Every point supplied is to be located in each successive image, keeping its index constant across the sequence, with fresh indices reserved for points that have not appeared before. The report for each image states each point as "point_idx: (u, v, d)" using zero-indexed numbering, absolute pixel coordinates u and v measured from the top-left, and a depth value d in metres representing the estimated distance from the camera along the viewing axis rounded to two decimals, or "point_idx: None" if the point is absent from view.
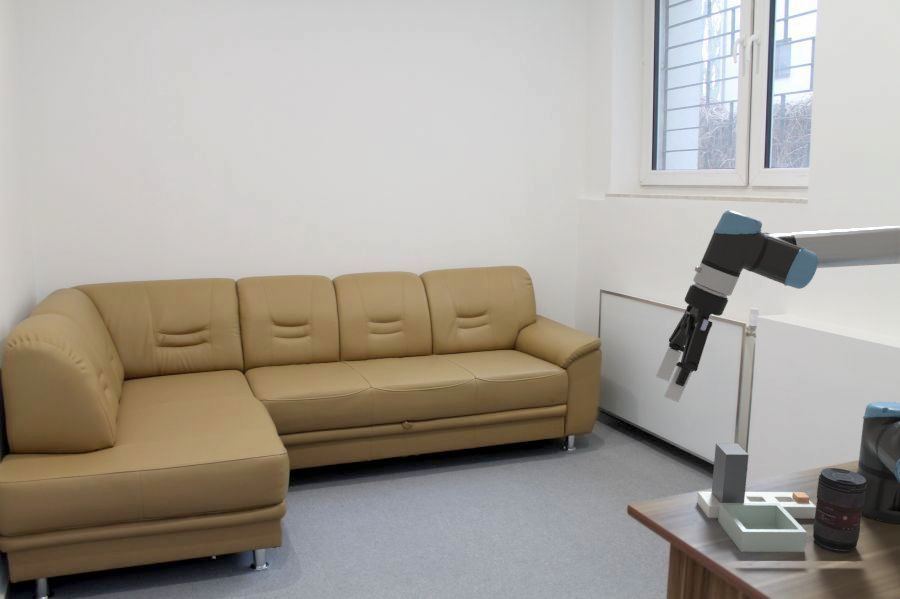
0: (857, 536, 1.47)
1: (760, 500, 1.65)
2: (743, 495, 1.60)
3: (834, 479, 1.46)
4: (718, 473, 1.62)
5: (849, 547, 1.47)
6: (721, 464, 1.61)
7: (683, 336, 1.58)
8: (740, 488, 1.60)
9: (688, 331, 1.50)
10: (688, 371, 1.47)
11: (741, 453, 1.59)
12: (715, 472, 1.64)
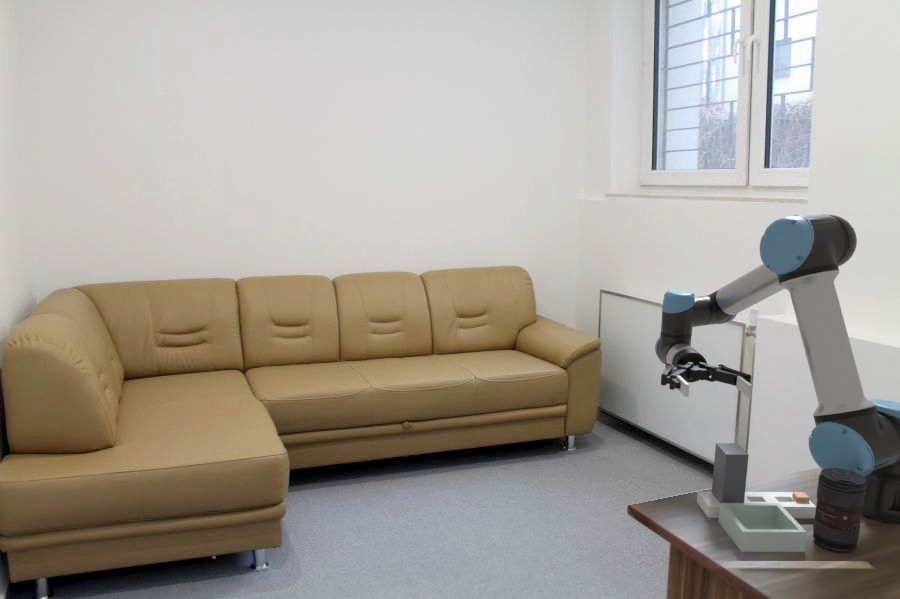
0: (857, 536, 1.47)
1: (760, 500, 1.65)
2: (743, 495, 1.60)
3: (834, 479, 1.46)
4: (718, 473, 1.62)
5: (849, 547, 1.47)
6: (721, 464, 1.61)
7: (721, 377, 1.79)
8: (740, 488, 1.60)
9: None
10: (670, 379, 1.75)
11: (741, 453, 1.59)
12: (715, 472, 1.64)
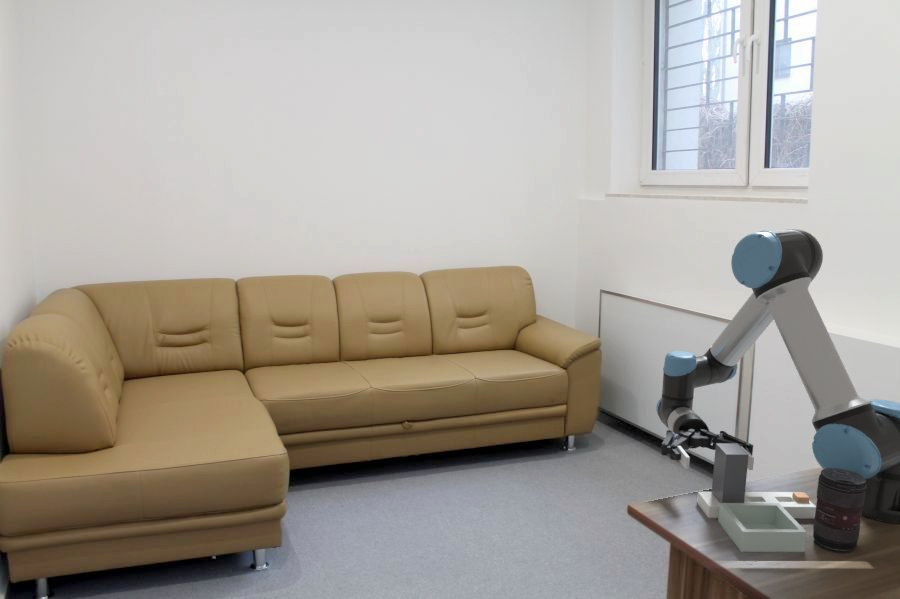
0: (857, 536, 1.47)
1: (760, 500, 1.65)
2: (743, 495, 1.60)
3: (834, 479, 1.46)
4: (718, 473, 1.62)
5: (849, 547, 1.47)
6: (721, 464, 1.61)
7: None
8: (740, 488, 1.60)
9: None
10: (671, 449, 1.73)
11: (741, 453, 1.59)
12: (715, 472, 1.64)
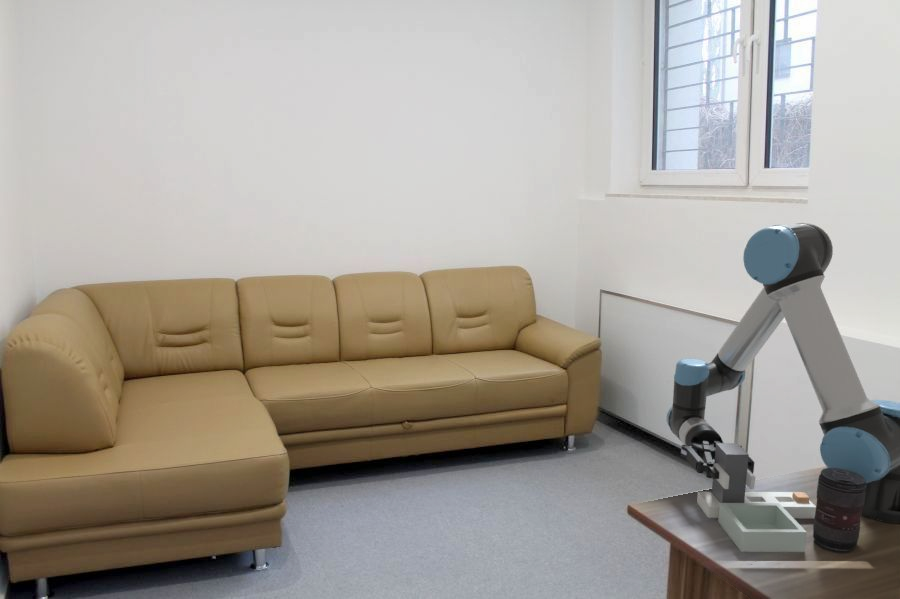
0: (857, 536, 1.47)
1: (760, 500, 1.65)
2: (743, 495, 1.60)
3: (834, 479, 1.46)
4: None
5: (849, 546, 1.47)
6: (721, 463, 1.61)
7: None
8: (740, 488, 1.60)
9: None
10: (707, 467, 1.63)
11: (741, 453, 1.59)
12: None
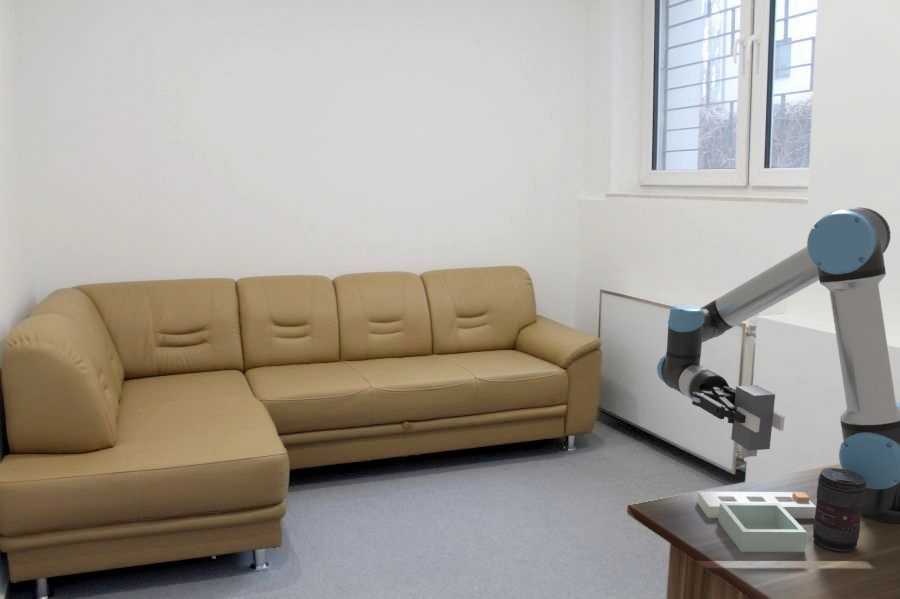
0: (857, 536, 1.47)
1: (760, 500, 1.65)
2: (769, 438, 1.52)
3: (834, 479, 1.46)
4: None
5: (849, 546, 1.47)
6: (745, 406, 1.52)
7: None
8: (766, 431, 1.51)
9: None
10: (730, 412, 1.53)
11: (767, 393, 1.50)
12: None
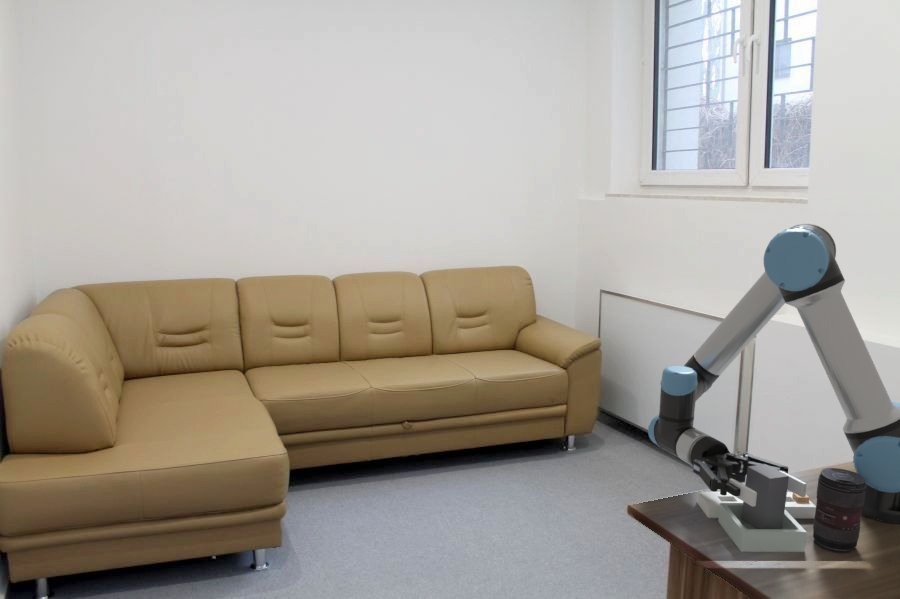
0: (857, 536, 1.47)
1: None
2: (782, 519, 1.50)
3: (834, 479, 1.46)
4: None
5: (849, 546, 1.47)
6: (759, 488, 1.50)
7: None
8: (780, 513, 1.50)
9: (716, 477, 1.59)
10: (723, 484, 1.51)
11: (781, 475, 1.49)
12: None
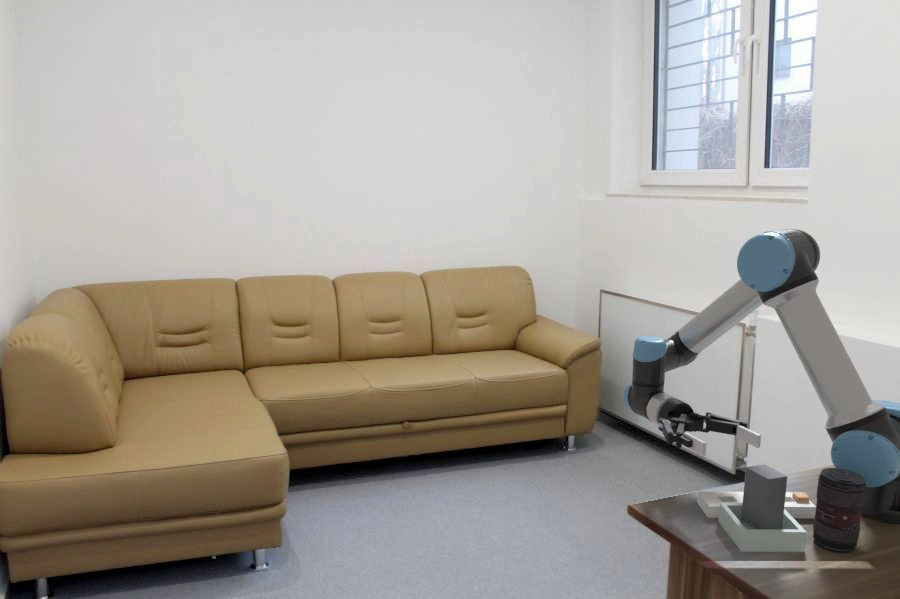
0: (857, 536, 1.47)
1: None
2: (781, 519, 1.50)
3: (834, 479, 1.46)
4: (753, 499, 1.51)
5: (849, 546, 1.47)
6: (758, 489, 1.50)
7: (718, 427, 1.73)
8: (779, 513, 1.50)
9: None
10: (678, 437, 1.65)
11: (779, 475, 1.49)
12: (748, 498, 1.52)
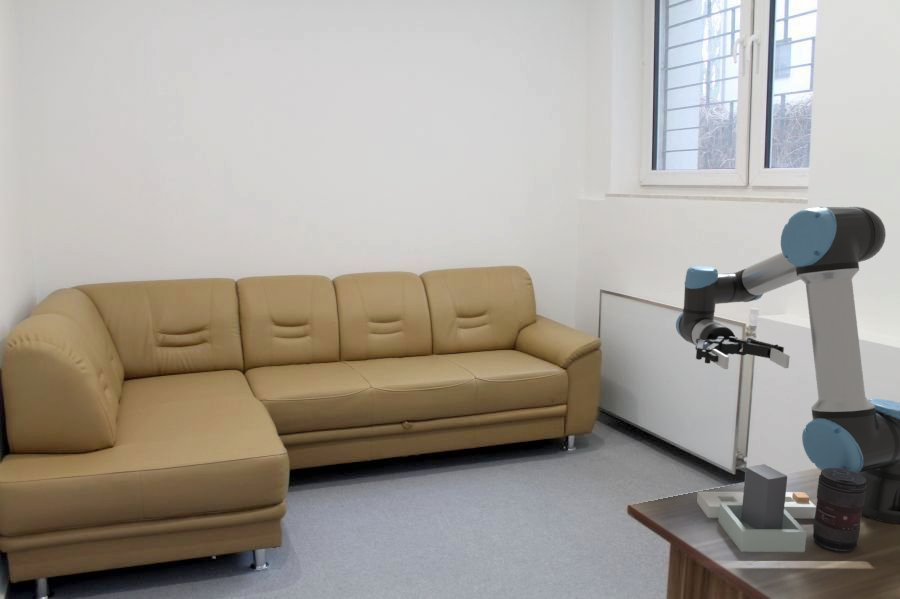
0: (857, 536, 1.47)
1: None
2: (781, 519, 1.50)
3: (834, 479, 1.46)
4: (753, 499, 1.51)
5: (849, 546, 1.47)
6: (758, 489, 1.50)
7: (754, 350, 1.79)
8: (779, 513, 1.50)
9: None
10: (706, 353, 1.74)
11: (779, 475, 1.49)
12: (748, 498, 1.52)
